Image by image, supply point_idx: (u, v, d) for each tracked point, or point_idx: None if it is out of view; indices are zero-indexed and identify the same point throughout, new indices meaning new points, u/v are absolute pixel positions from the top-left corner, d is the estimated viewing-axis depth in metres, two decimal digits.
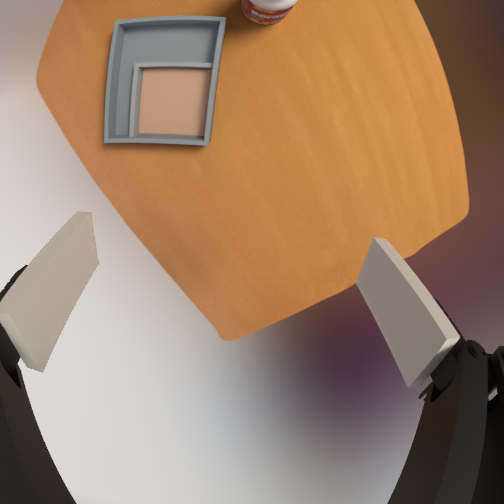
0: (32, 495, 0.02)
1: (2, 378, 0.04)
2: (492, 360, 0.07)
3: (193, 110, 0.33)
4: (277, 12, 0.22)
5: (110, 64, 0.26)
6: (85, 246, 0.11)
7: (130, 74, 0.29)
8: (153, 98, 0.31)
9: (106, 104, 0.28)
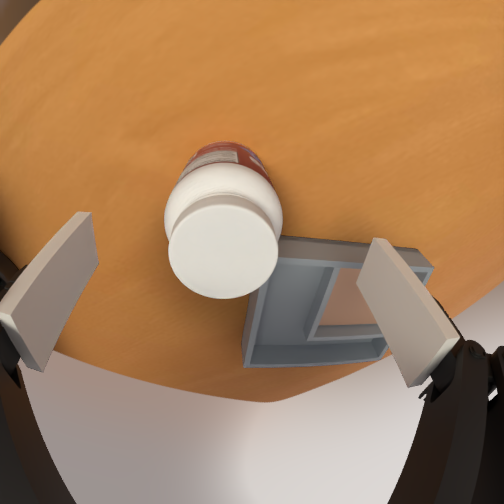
0: (32, 495, 0.02)
1: (2, 378, 0.04)
2: (492, 360, 0.07)
3: None
4: None
5: (301, 365, 0.29)
6: (85, 246, 0.11)
7: None
8: (352, 313, 0.29)
9: (344, 362, 0.30)
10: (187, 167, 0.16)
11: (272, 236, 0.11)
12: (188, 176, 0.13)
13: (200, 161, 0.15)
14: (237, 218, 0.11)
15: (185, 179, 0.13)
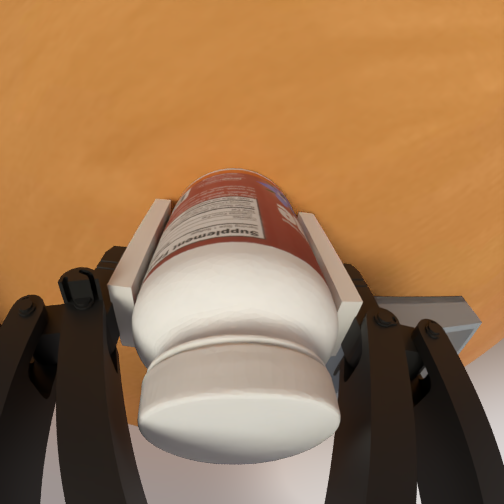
0: (118, 492, 0.03)
1: (107, 363, 0.06)
2: (414, 338, 0.08)
3: None
4: None
5: None
6: None
7: None
8: None
9: None
10: (171, 227, 0.09)
11: (335, 417, 0.05)
12: (165, 272, 0.07)
13: (191, 224, 0.08)
14: (272, 409, 0.04)
15: (160, 278, 0.06)
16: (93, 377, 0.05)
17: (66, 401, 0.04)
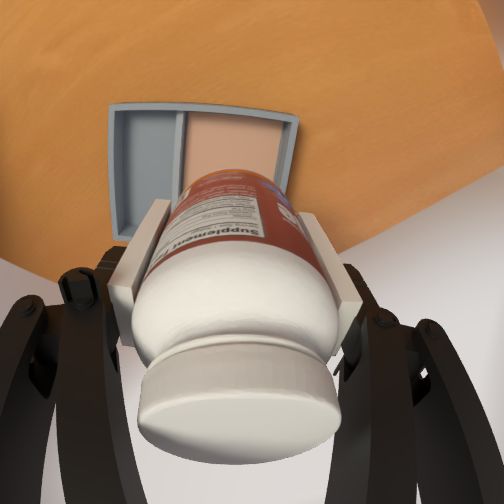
0: (118, 492, 0.03)
1: (107, 363, 0.06)
2: (414, 338, 0.08)
3: (246, 133, 0.25)
4: None
5: None
6: None
7: None
8: None
9: None
10: (171, 226, 0.09)
11: (336, 417, 0.05)
12: (165, 271, 0.06)
13: (191, 223, 0.08)
14: (273, 409, 0.04)
15: (160, 277, 0.06)
16: (93, 377, 0.05)
17: (66, 401, 0.04)
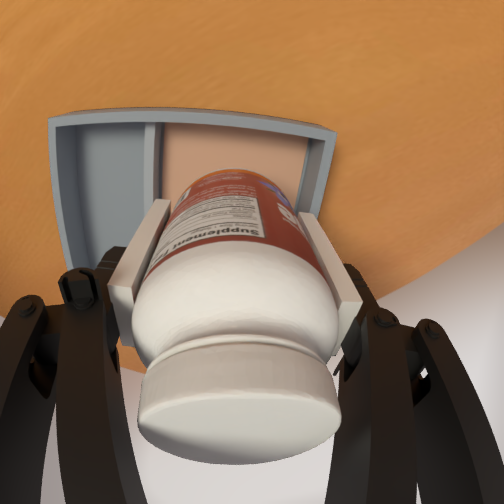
0: (118, 492, 0.03)
1: (107, 363, 0.06)
2: (414, 338, 0.08)
3: (253, 155, 0.17)
4: None
5: None
6: None
7: None
8: None
9: None
10: (171, 226, 0.09)
11: (336, 417, 0.05)
12: (165, 271, 0.06)
13: (191, 223, 0.08)
14: (273, 409, 0.04)
15: (160, 277, 0.06)
16: (93, 377, 0.05)
17: (66, 401, 0.04)
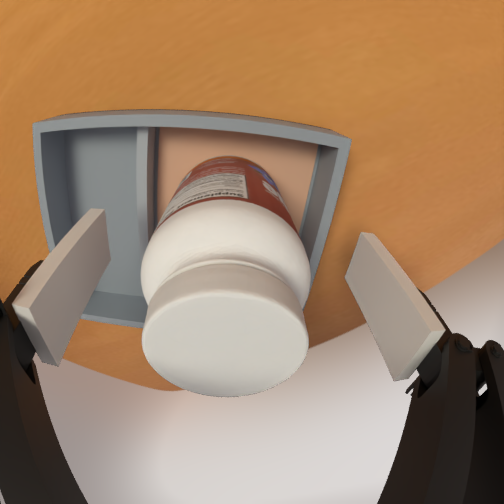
0: (45, 493, 0.02)
1: (18, 374, 0.05)
2: (481, 355, 0.07)
3: (257, 162, 0.16)
4: None
5: None
6: (99, 242, 0.11)
7: None
8: None
9: None
10: (175, 197, 0.11)
11: (302, 332, 0.07)
12: (171, 221, 0.09)
13: (192, 192, 0.10)
14: (248, 312, 0.07)
15: (167, 226, 0.09)
16: (6, 388, 0.04)
17: None
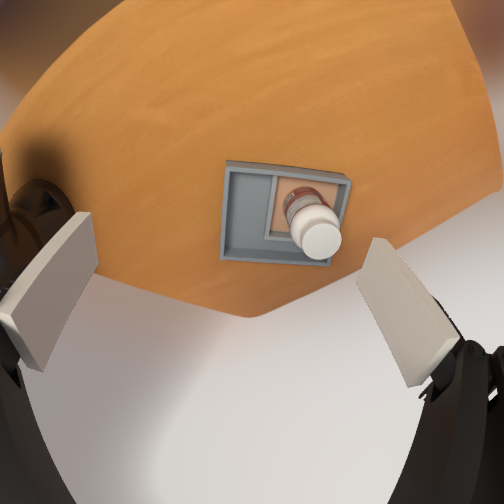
0: (32, 495, 0.02)
1: (2, 378, 0.04)
2: (492, 360, 0.07)
3: (315, 188, 0.39)
4: None
5: (262, 260, 0.42)
6: (85, 246, 0.11)
7: (272, 240, 0.44)
8: None
9: (297, 263, 0.43)
10: (295, 202, 0.35)
11: (340, 234, 0.31)
12: (304, 210, 0.32)
13: (304, 201, 0.34)
14: (329, 228, 0.30)
15: (303, 211, 0.32)
16: None
17: None
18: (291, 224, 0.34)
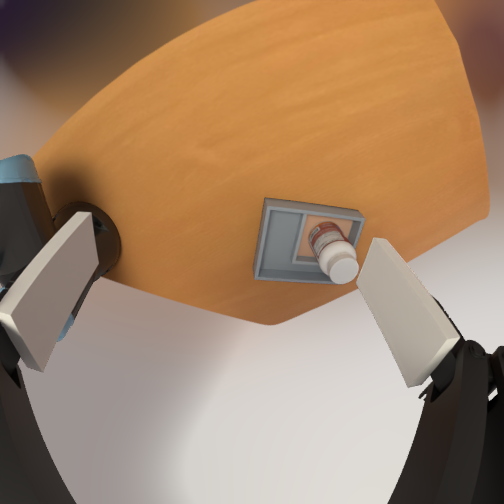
0: (32, 495, 0.02)
1: (2, 378, 0.04)
2: (492, 360, 0.07)
3: (335, 222, 0.48)
4: None
5: (289, 280, 0.51)
6: (85, 246, 0.11)
7: None
8: None
9: (317, 282, 0.52)
10: (322, 237, 0.44)
11: (358, 265, 0.39)
12: (331, 245, 0.41)
13: (329, 237, 0.43)
14: (350, 261, 0.39)
15: (330, 246, 0.41)
16: None
17: None
18: (320, 256, 0.42)
